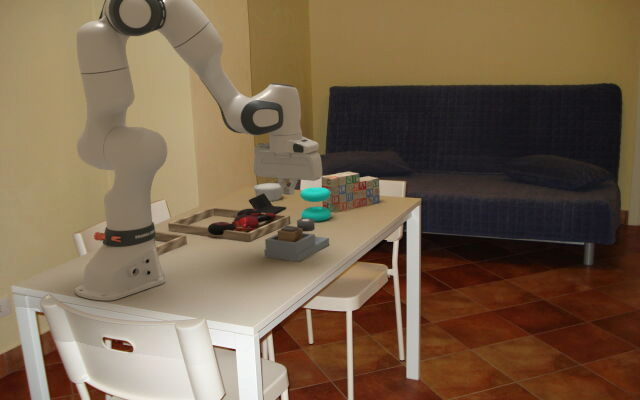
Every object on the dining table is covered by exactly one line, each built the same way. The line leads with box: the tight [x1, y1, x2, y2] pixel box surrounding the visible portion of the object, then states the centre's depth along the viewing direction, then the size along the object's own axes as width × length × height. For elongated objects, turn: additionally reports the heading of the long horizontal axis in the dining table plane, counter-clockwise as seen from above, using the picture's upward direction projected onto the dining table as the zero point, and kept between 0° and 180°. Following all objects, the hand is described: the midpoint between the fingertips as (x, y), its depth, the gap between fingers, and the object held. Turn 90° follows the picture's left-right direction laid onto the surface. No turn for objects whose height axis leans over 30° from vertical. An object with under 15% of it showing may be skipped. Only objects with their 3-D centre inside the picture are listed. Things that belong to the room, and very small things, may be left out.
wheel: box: [296, 218, 316, 233], centre depth 189 cm, size 5×5×3 cm
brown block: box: [277, 225, 304, 242], centre depth 182 cm, size 5×5×6 cm
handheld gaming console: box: [248, 193, 287, 214], centre depth 232 cm, size 12×7×10 cm
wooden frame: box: [154, 230, 188, 256], centre depth 195 cm, size 15×19×2 cm
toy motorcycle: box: [208, 208, 276, 235], centre depth 210 cm, size 25×5×16 cm
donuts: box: [300, 186, 332, 223], centre depth 219 cm, size 10×10×10 cm
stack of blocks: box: [321, 171, 381, 213], centre depth 234 cm, size 21×6×12 cm, turn 125°
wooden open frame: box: [167, 206, 291, 243], centre depth 213 cm, size 23×32×2 cm
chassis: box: [263, 232, 330, 262], centre depth 185 cm, size 17×11×5 cm, turn 150°
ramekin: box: [253, 182, 283, 202], centre depth 251 cm, size 11×11×5 cm
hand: (288, 194), depth 179 cm, fingers closed
